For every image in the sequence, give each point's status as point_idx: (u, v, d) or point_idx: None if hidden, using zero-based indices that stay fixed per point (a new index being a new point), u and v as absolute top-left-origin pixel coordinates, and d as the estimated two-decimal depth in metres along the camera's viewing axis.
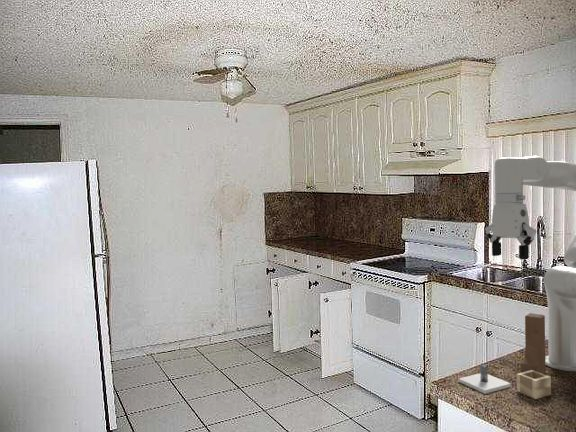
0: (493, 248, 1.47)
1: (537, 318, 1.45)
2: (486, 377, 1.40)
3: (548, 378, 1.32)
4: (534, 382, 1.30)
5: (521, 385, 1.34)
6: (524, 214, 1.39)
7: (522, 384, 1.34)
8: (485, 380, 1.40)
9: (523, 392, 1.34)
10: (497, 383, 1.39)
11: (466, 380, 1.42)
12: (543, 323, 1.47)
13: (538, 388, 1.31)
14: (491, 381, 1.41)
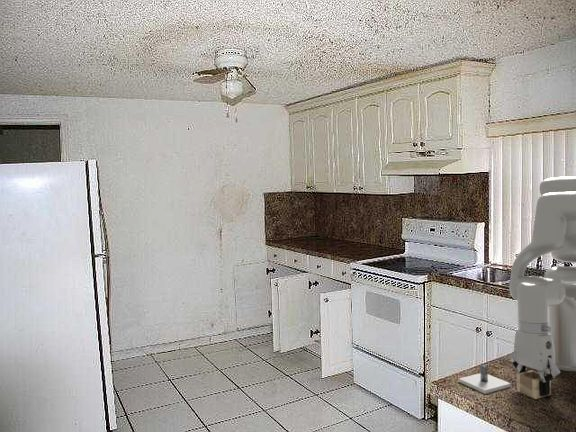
0: None
1: None
2: (486, 377, 1.40)
3: None
4: (534, 382, 1.30)
5: (521, 385, 1.34)
6: (550, 346, 1.30)
7: (522, 384, 1.34)
8: (485, 380, 1.40)
9: (523, 392, 1.34)
10: (497, 383, 1.39)
11: (466, 380, 1.42)
12: None
13: (538, 388, 1.31)
14: (491, 381, 1.41)
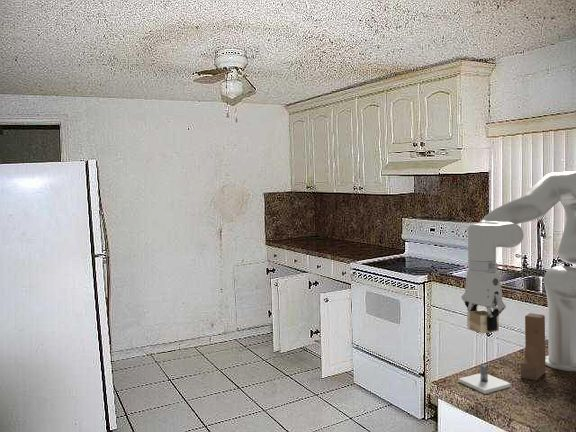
0: None
1: (537, 318, 1.45)
2: (486, 377, 1.40)
3: None
4: (482, 317, 1.37)
5: (471, 322, 1.41)
6: (497, 283, 1.36)
7: (471, 321, 1.40)
8: (485, 380, 1.40)
9: (472, 329, 1.40)
10: (497, 383, 1.39)
11: (466, 380, 1.42)
12: (543, 323, 1.47)
13: (486, 323, 1.37)
14: (491, 381, 1.41)
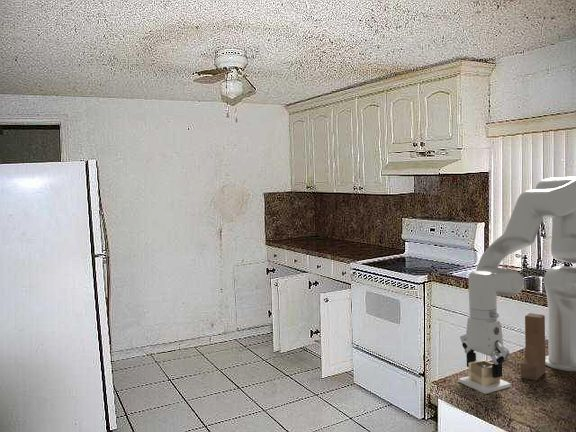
0: (468, 359, 1.45)
1: (537, 318, 1.45)
2: None
3: None
4: (483, 370, 1.38)
5: (472, 373, 1.41)
6: (498, 331, 1.37)
7: (473, 372, 1.41)
8: None
9: (474, 380, 1.41)
10: (497, 383, 1.39)
11: (466, 380, 1.42)
12: (543, 323, 1.47)
13: (487, 376, 1.38)
14: None
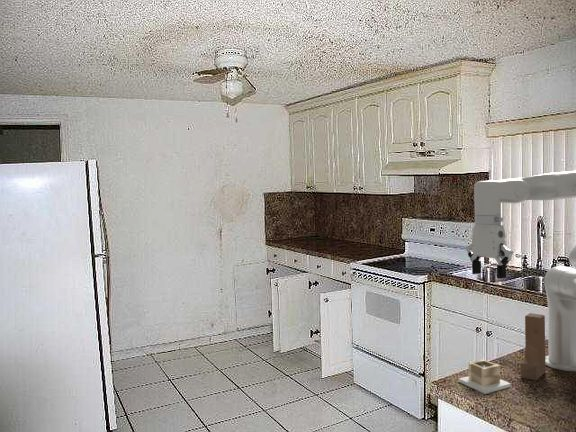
0: (473, 267, 1.53)
1: (537, 318, 1.45)
2: None
3: (497, 367, 1.39)
4: (483, 370, 1.38)
5: (472, 373, 1.41)
6: (502, 235, 1.45)
7: (473, 372, 1.41)
8: None
9: (474, 380, 1.41)
10: (497, 383, 1.39)
11: (466, 380, 1.42)
12: (543, 323, 1.47)
13: (487, 376, 1.38)
14: None
